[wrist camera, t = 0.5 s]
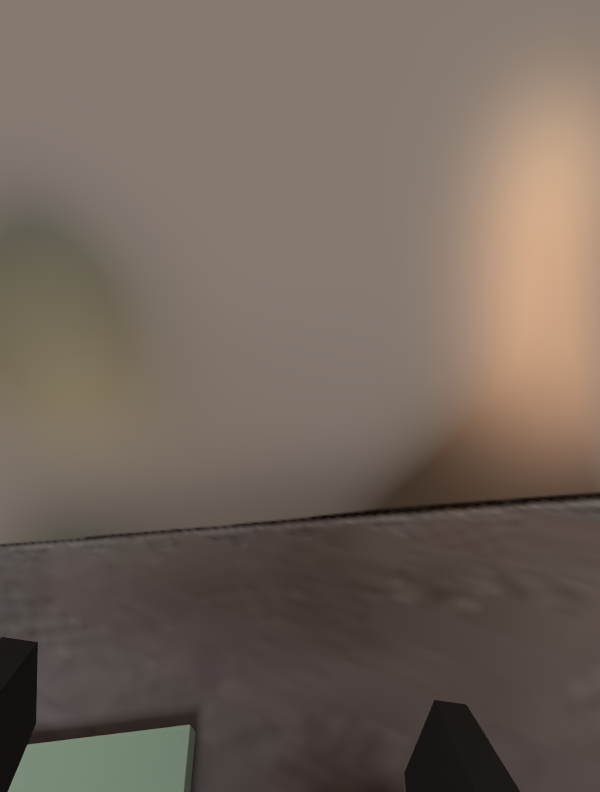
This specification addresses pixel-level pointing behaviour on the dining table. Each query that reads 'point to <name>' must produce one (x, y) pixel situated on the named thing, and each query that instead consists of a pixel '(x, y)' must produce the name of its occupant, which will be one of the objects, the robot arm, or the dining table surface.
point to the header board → (110, 763)
